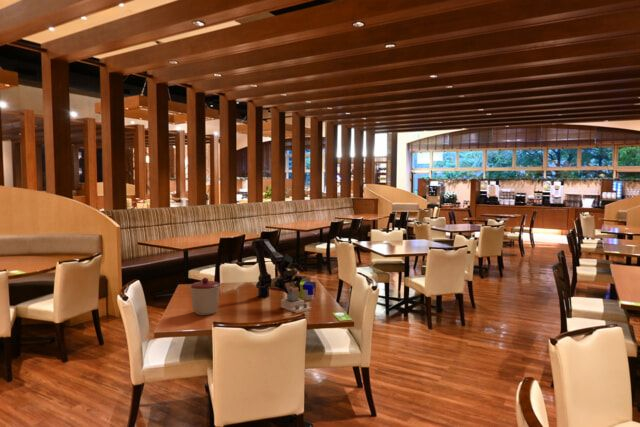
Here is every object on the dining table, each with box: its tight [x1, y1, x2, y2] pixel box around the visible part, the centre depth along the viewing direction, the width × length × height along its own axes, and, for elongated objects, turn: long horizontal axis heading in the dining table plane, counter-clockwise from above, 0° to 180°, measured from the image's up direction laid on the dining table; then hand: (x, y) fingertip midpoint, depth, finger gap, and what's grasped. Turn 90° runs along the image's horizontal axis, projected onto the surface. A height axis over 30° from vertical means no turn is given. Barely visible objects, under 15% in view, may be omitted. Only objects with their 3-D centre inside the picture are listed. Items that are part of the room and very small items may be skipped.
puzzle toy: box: [298, 281, 317, 301], centre depth 299 cm, size 10×10×10 cm
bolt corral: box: [269, 274, 312, 289], centre depth 333 cm, size 23×24×6 cm
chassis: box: [280, 298, 312, 314], centre depth 273 cm, size 17×11×4 cm, turn 39°
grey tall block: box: [286, 286, 298, 302], centre depth 275 cm, size 5×5×11 cm
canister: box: [188, 277, 222, 316], centre depth 261 cm, size 18×18×21 cm
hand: (294, 292), depth 274 cm, fingers open, 9 cm apart
